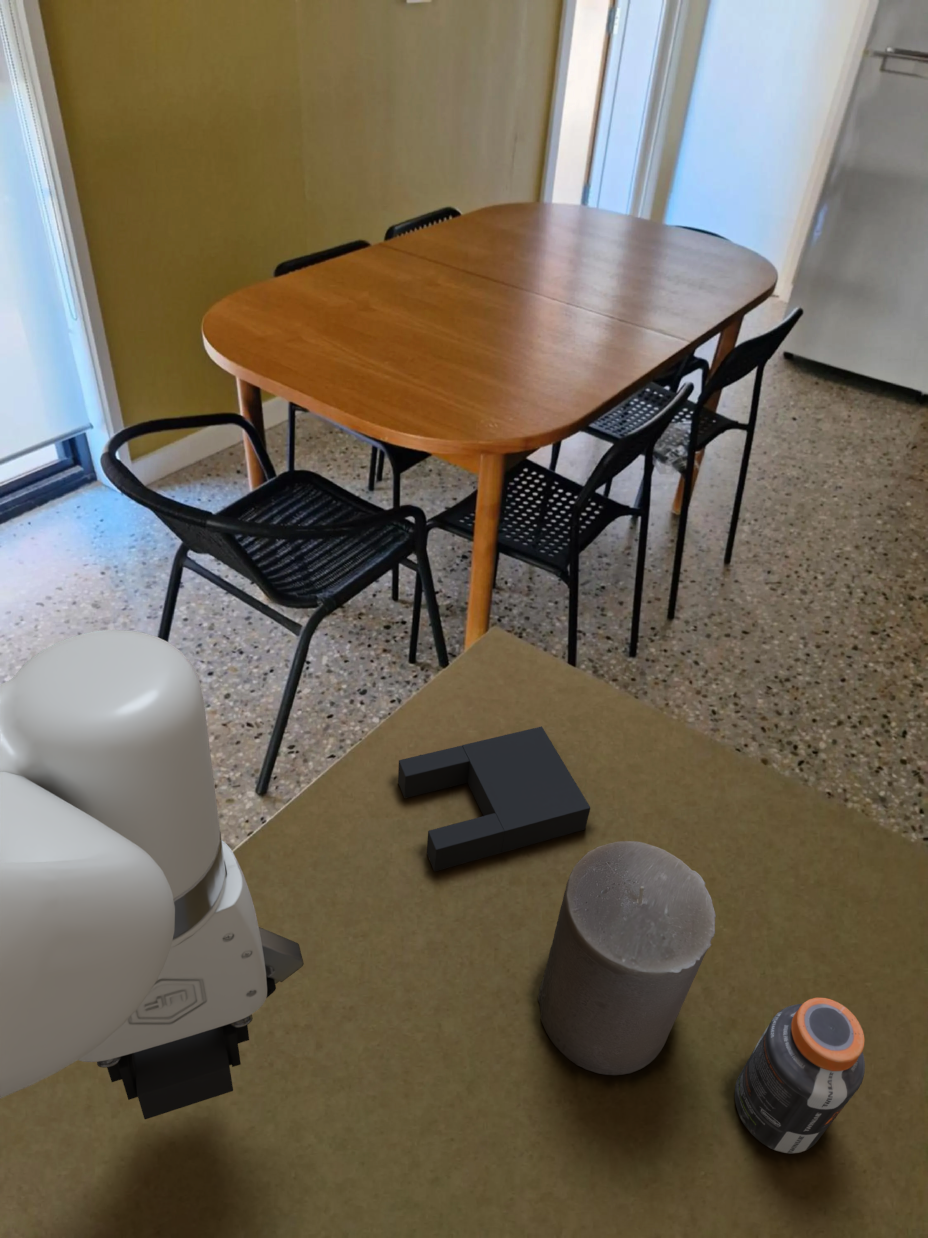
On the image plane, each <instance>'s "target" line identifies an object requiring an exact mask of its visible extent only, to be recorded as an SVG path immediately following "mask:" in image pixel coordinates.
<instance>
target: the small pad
mask: <svg viewBox="0 0 928 1238" xmlns="http://www.w3.org/2000/svg"><path fill="white" fill-rule="evenodd" d="M134 1055H135V1066H136V1077H137V1078H136V1087H137V1096H138V1097H137V1099H138V1102H139V1105H140V1109H141V1113H142V1116H143V1118H144V1120H148V1119H151V1118H154V1117H157V1116H161V1115H164V1114H167V1113H170V1112H173V1111H175V1110H180V1109H182V1108H186V1107H189V1106H191V1105H195V1104H197V1103H201V1102H203V1101H206V1100H210V1099H213V1098H217V1097H219V1096H221V1095H225V1094H228V1093H231V1092H233V1091H234V1086H233V1080H232V1074H231V1068H230V1066H231V1065H230V1066H229V1060H228V1054H227V1050H226V1048H225V1042H224V1036H223V1030H222V1026H221V1027H218V1028H215V1029H211V1030H208V1031H205V1032H202V1033H199V1034H195V1035H192V1036H189V1037H186V1038H182V1039H179V1040H176V1041H172V1042H169V1043H166V1044H162V1045H159V1046H155V1047H152V1048H148V1049H145V1050H142V1051H138V1052H135V1053H134Z"/></svg>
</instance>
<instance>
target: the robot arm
mask: <svg viewBox="0 0 928 1238" xmlns="http://www.w3.org/2000/svg"><path fill="white" fill-rule="evenodd" d="M200 681H201V680H200V677H199V675H198V674H197V670H196V669H195V668H194V665H193V663H192V662H191V661H190V660H189V659H188V658H187V656H186V655H185V653H184V652H182V651H181V650H180V649H179V648H177V647H176V646H174V645H173V644H172V643H170V642H169V641H167V640H165V639H163V638H160V637H158V636H156V635H153V634H149V633H146V632H142V631H136V630H126V629H125V630H124V629H123V630H122V629H106V630H105V629H104V630H95V631H91V632H84V633H81V634H78V635H74V636H71V637H68V638H66V639H62V640H60V641H58V642H55V643H54V644H52V645H50V646H48V647H46V648H45V649H42V650H41V651H40V652H38V653H37V654H35V655H34V656H32V657H31V658H30V659H29V660H27V662H26V663H25V664H23V666H21V667H20V668H19V670H18V671H17V672H16V674H15V675H14V676H12V678H10V679H9V680H7V681H4V682H2V683H0V1099H3V1098H5V1097H7V1096H11V1095H12V1094H14V1093H17V1092H19V1091H21V1090H24V1089H26V1088H29V1087H31V1086H33V1085H34V1084H37V1083H39V1082H41V1081H42V1080H45V1079H47V1078H49V1077H51V1076H53V1075H54V1074H57V1073H58V1072H61V1071H62V1070H64V1069H65V1068H67V1067H69V1066H71V1065H73V1064H74V1063H76V1062H77V1061H80V1062H83V1063H96V1065H97V1067H99V1068H102V1069H105V1068H106V1069H107V1073H108V1075H109V1078H110V1081H111V1083H115V1082H118V1081H121V1080H122V1081H121V1082H122V1083H123V1087H124V1091H125V1094H126V1097H127V1100H128V1101H130V1100H133V1099H136V1098H138V1096H137V1087H136V1078H137V1077H136V1066H135V1055H134V1053H135V1052H138V1051H142V1050H145V1049H148V1048H152V1047H155V1046H159V1045H162V1044H166V1043H169V1042H172V1041H176V1040H179V1039H182V1038H186V1037H189V1036H192V1035H195V1034H199V1033H202V1032H205V1031H208V1030H211V1029H215V1028H218V1027H221V1026H222V1030H223V1036H224V1042H225V1048H226V1050H227V1054H228V1060H229V1066H231V1068H235V1067H237V1066H241V1065H242V1063H241V1056H240V1055H241V1054H240V1049H239V1044H241V1043H245V1042H248V1041H250V1035H249V1028H248V1027H249V1026H248V1025H249V1024H251V1023H252V1021H253V1017H254V1016H253V1014H254V1013H255V1012H258V1010H260V1009H261V1008H262V1007H263V1005H264V1004H265V1002H266V1000H267V999H268V998H269V997H270V996H271V995H272V994H273V993H274V992H276V989H277V986H276V985H277V984H278V983H284V981H286V980H287V979H288V978H289V977H291V976H292V975H293V974H295V973H296V972H298V971H299V970H300V969H301V968H302V967H303V966H304V965H305V963H304V958H303V955H302V951H301V947H300V944H299V943H298V942H296V941H294V940H292V939H289V938H287V937H284V936H282V935H279V934H277V933H275V932H273V931H270V930H267V929H265V928H263V927H261V926H259V923H258V918H257V912H256V908H255V905H254V900H253V897H252V893H251V891H250V889H249V886H248V883H247V880H246V877H245V875H244V872H243V870H242V867H241V866H240V863H239V861H238V859H237V858H236V855H235V853H234V851H233V850H232V849H231V847H230V846H229V845H228V844H227V843H226V842H225V841H224V840H223V839H222V834H221V833H222V832H221V825H220V817H219V809H218V802H217V794H216V786H215V785H216V784H215V778H214V770H213V762H212V756H211V755H212V754H211V747H210V746H211V745H210V738H209V731H208V724H207V723H208V721H207V715H206V707H205V700H204V696H203V695H204V694H203V691H202V686H201V682H200Z"/></svg>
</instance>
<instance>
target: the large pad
mask: <svg viewBox="0 0 928 1238" xmlns="http://www.w3.org/2000/svg"><path fill="white" fill-rule="evenodd" d="M397 770H398V771H397V772H398V773H397V777H398V778H397V783H398V785H399V789H400V791H401V793H402V795H403V798H404V799H407V798H412V797H416V796H420V795H424V794H428V793H431V792H436V791H440V790H444V789H447V788H453V787H456V786H460V785H463V784H467V785H468V787H469V789H470V791H471V793H472V795H473V797H474V799H475V801H476V804H477V806H478V808H479V809H480V812H481V814H482V816H479V817H475V818H471V819H468V820H463V821H460V822H456V823H452V824H448V825H445V826H441V827H440V826H439V827H437V828H433V829H429V830H428V831H427V843H426V855H427V857H428V860H429V862H430V864H431V868H432V869H433V872H438V871H442V870H445V869H449V868H453V867H456V866H460V865H464V864H467V863H471V862H475V861H477V860H481V859H484V858H489V857H492V856H495V855H499V854H503V853H507V852H510V851H514V850H516V849H520V848H524V847H528V846H531V845H535V844H538V843H542V842H545V841H550V840H553V839H556V838H560V837H563V836H566V835H570V834H575V833H577V832H578V833H579V832H581V831H584V830H586V827H587V823H588V821H589V820H588V819H589V815H590V812H591V806H590V804H589V803H588V801H587V799H586V798H585V796H584V794H583V793H582V791H581V789H580V787H579V786H578V784H577V783H576V781H575V779H574V778H573V775H572V774H571V773H570V771H569V769H568V767H567V766H566V764H565V763H564V761H563V759H562V758H561V756H560V754H559V752H558V751H557V749H556V747H555V746H554V744H553V742H552V741H551V739H550V737H549V736H548V734H547V732H546V730H545V729H544V728H543V726H537V727H534V728H529V729H525V730H520V731H516V732H512V733H507V734H503V735H500V736H495V737H491V738H487V739H482V740H478V741H474V742H469V743H465V744H462V745H458V746H457V745H456V746H453V747H449V748H446V749H445V748H444V749H441V750H437V751H436V750H435V751H432V752H428V753H427V752H426V753H423V754H420V755H415V756H411V757H406V758H402V759H399V760H398V769H397Z"/></svg>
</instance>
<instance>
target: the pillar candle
mask: <svg viewBox="0 0 928 1238" xmlns="http://www.w3.org/2000/svg"><path fill="white" fill-rule="evenodd" d="M706 884H707V882H705V881H704V879H703V877H702V876H701V875H700V874H699V873H698V872H697V871H696V870H692V869H691V867H690V866H688V864H686V863H684V861H683V860H682V859H680V858H678V857H677V856H675V855H674V854H672V853H670V852H668V851H667V850H665V849H663V848H661V847H657V846H655V845H652V844H648V843H646V842H642V841H636V840H631V841H630V840H620V841H615V842H610V843H606V844H603V845H600V846H597V847H595V848H594V849H591V850H589V851H587V853H586V854H585V855H583V856H582V858H580V859H579V860H578V862H577V863H575V865H574V867H573V869H572V870H571V872H570V874H569V877H568V879H567V881H566V885H565V889H564V893H563V897H562V901H561V905H560V908H559V914H558V918H557V922H556V926H555V930H554V934H553V938H552V941H551V946H550V950H549V954H548V959H547V962H546V967H545V969H544V974H543V978H542V981H541V982H540V986H539V990H538V995H537V1000H538V1003H539V1010H540V1022H541V1024H542V1025H543V1028H544V1030H545V1033H546V1034H547V1035H548V1038H549V1039H550V1041H551V1043H552V1044H553V1045H554V1046H555V1047H556V1049H557V1050H558V1051H559V1052H560V1053H561V1054H562V1055H563V1056H564V1057H565V1058H566V1059H568V1060H569V1061H571V1062H572V1063H573V1064H575V1065H576V1066H578V1067H580V1068H582V1069H584V1070H586V1071H589V1072H592V1073H595V1074H598V1075H599V1074H600V1075H606V1076H622V1075H627V1074H632V1073H635V1072H637V1071H639V1070H641V1069H644V1068H645V1067H646V1066H648V1065H650V1064H651V1063H652V1062H653V1061H654V1060H656V1058H657V1057H658V1055H659V1054H660V1053H661V1051H662V1049H663V1048H664V1046H665V1044H666V1042H667V1040H668V1037H669V1035H670V1032H671V1031H672V1029H673V1026H674V1025H675V1023H676V1020H677V1018H678V1016H679V1014H680V1012H681V1010H682V1008H683V1004H684V1003H685V1001H686V998H687V996H688V994H689V992H690V989H691V987H692V984H693V982H694V980H695V978H696V975H697V973H698V971H699V969H700V967H701V965H702V963H703V961H704V958H705V956H706V954H707V952H708V950H709V949H710V947H711V946H712V943H711V942H712V940H713V939H714V937H715V934H716V917H717V914H716V912H715V908H714V905H713V899H712V896H711V895H710V893H709V891H708V889H707V887H706Z"/></svg>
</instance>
